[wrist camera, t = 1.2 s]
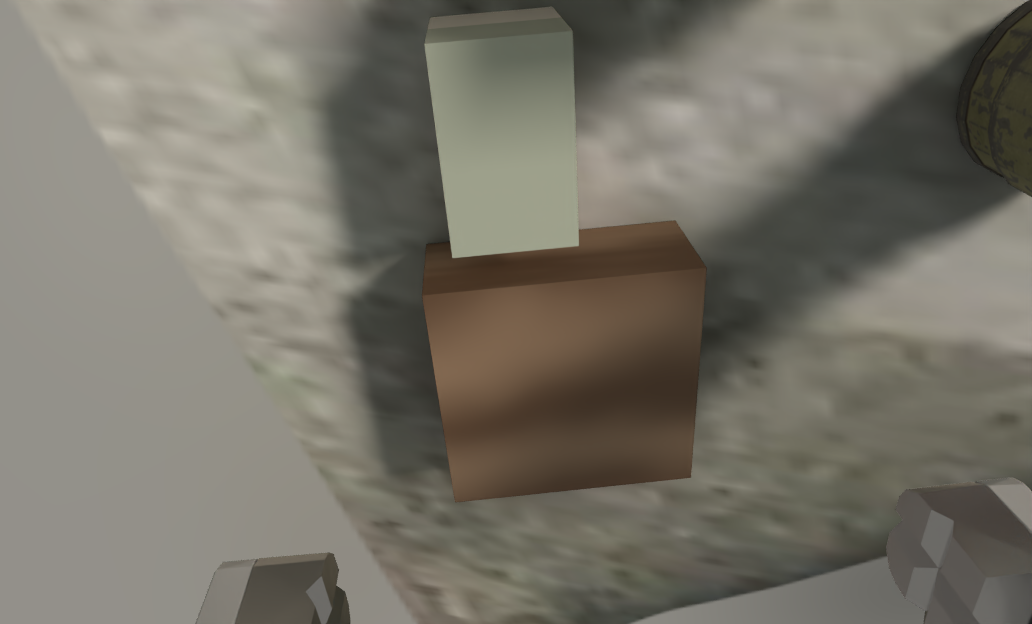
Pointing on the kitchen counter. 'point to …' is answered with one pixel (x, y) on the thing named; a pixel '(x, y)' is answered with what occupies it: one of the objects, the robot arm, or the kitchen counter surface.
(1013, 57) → the thermos
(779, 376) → the kitchen counter surface
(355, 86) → the kitchen counter surface
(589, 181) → the kitchen counter surface
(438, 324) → the walnut stand
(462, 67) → the block
